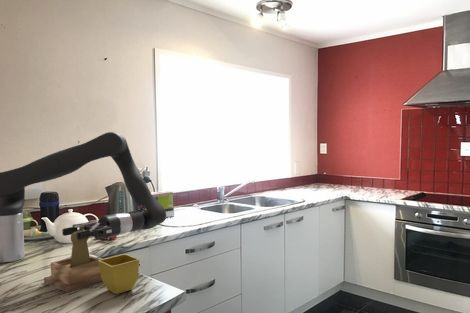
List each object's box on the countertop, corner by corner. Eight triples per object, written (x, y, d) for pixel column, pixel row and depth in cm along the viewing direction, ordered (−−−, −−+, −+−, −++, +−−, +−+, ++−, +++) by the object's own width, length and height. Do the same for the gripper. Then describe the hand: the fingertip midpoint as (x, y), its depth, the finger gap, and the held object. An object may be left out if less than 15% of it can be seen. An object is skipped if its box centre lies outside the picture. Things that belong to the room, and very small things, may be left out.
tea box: (166, 214, 226) (165, 190, 226) (174, 216, 218) (173, 191, 218) (143, 217, 216) (142, 192, 216) (151, 220, 209) (150, 194, 208)
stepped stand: (44, 282, 114) (43, 263, 114) (86, 269, 125) (85, 252, 125) (67, 292, 106) (66, 272, 106) (110, 278, 117) (109, 259, 117)
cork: (93, 263, 118) (92, 229, 118) (86, 269, 112) (85, 233, 112) (74, 263, 118) (73, 229, 118) (66, 269, 112) (65, 234, 112)
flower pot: (98, 290, 107) (97, 259, 107) (126, 282, 113) (125, 253, 113) (112, 299, 101) (111, 266, 100) (141, 289, 107) (140, 259, 107)
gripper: (103, 211, 131) (57, 219, 118) (127, 216, 122) (81, 225, 109) (103, 232, 131) (58, 242, 118) (128, 238, 122) (82, 250, 109)
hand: (69, 234), depth 114 cm, fingers open, 8 cm apart
